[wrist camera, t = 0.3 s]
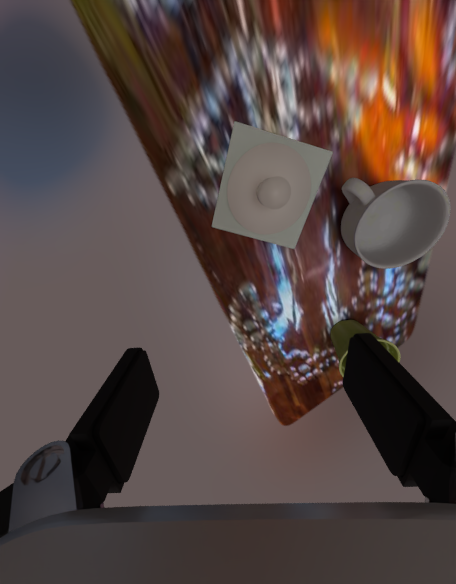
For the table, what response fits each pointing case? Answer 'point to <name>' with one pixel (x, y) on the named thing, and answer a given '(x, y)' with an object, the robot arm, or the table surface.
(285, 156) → the lid
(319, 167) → the mat
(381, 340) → the plant pot
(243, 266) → the table surface
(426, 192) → the teacup
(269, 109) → the table surface
